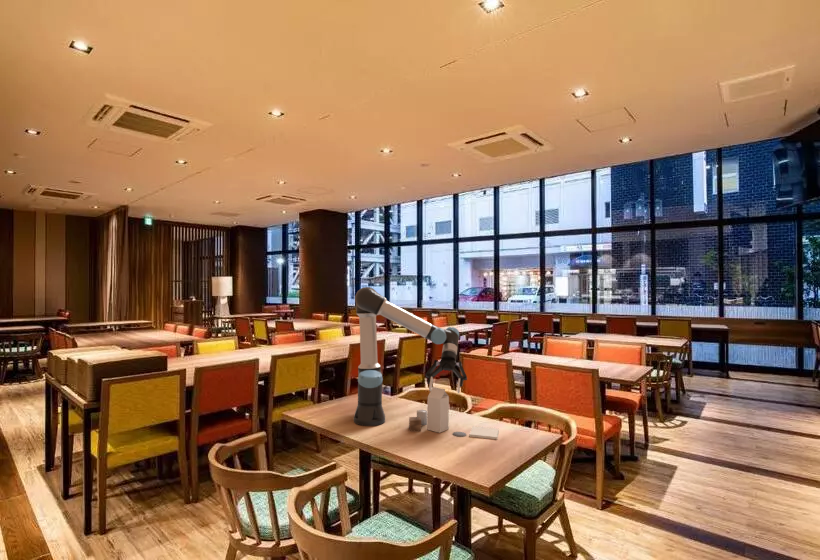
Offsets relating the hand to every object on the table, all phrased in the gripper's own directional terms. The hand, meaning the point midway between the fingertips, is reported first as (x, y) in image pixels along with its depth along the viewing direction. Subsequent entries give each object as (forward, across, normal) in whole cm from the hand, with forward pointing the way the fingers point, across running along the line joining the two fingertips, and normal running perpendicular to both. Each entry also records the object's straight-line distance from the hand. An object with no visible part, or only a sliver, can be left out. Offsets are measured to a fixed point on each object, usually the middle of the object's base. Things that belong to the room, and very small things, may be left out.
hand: (444, 390), depth 205 cm
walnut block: (+19, +12, -4) cm, 22 cm away
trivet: (+16, -20, -6) cm, 26 cm away
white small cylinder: (+13, +10, -10) cm, 19 cm away
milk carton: (+17, +1, -6) cm, 18 cm away
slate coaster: (+20, -9, -3) cm, 22 cm away
